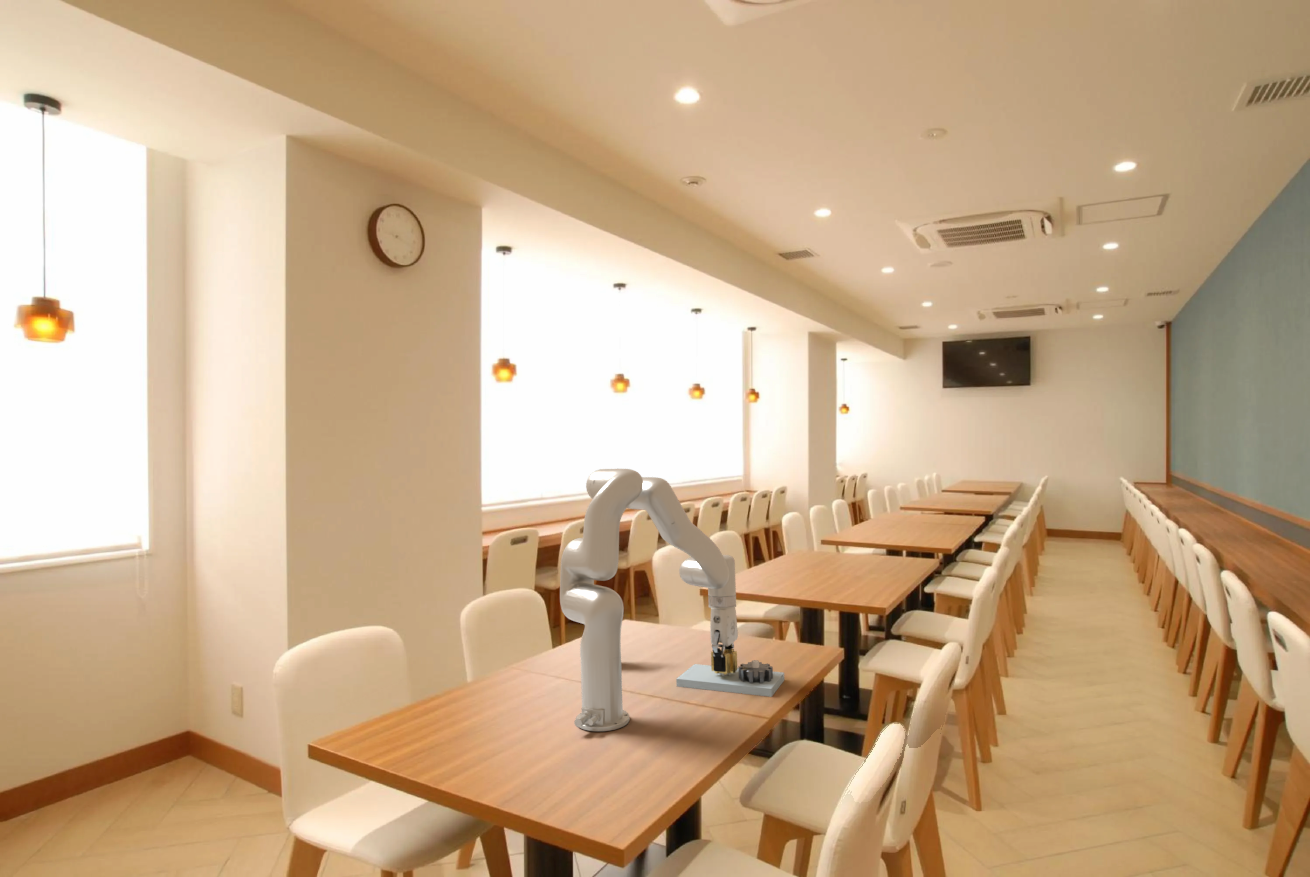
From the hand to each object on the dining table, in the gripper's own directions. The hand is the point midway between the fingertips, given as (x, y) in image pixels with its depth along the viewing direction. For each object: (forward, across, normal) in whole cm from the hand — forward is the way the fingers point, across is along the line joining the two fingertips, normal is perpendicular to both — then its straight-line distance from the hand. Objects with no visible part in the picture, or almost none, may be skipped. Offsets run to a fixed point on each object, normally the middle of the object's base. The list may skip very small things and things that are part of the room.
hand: (724, 666), depth 191 cm
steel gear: (+2, 0, -9) cm, 9 cm away
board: (+4, 0, -2) cm, 5 cm away
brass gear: (+1, 0, 0) cm, 1 cm away
